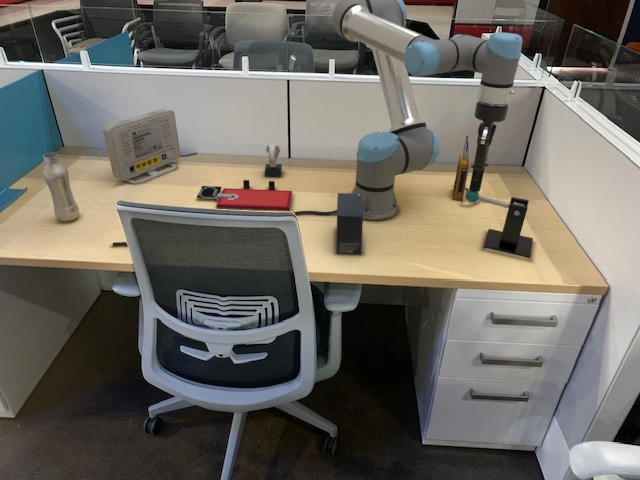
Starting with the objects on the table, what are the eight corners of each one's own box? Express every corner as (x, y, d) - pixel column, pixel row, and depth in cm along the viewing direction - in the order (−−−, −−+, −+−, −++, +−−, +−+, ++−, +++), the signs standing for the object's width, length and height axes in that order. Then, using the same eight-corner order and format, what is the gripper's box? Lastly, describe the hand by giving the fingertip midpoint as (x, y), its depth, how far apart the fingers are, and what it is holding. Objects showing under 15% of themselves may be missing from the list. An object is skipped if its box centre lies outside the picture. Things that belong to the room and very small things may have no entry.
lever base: (482, 250, 131) (493, 205, 124) (487, 232, 139) (498, 190, 132) (529, 260, 127) (543, 215, 120) (531, 242, 135) (544, 199, 128)
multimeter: (486, 208, 151) (500, 149, 141) (454, 205, 153) (465, 146, 142) (482, 189, 164) (494, 132, 153) (452, 186, 165) (462, 130, 155)
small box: (335, 229, 139) (337, 192, 133) (359, 229, 139) (362, 192, 133) (335, 254, 128) (337, 215, 122) (361, 255, 128) (364, 216, 122)
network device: (171, 159, 181) (162, 106, 170) (186, 164, 176) (179, 111, 166) (111, 181, 163) (97, 124, 152) (126, 188, 159) (114, 130, 148)
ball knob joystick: (462, 203, 130) (466, 191, 128) (465, 197, 133) (468, 186, 131) (520, 218, 126) (524, 206, 124) (521, 212, 129) (525, 200, 127)
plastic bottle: (57, 226, 138) (37, 161, 127) (56, 215, 143) (36, 152, 132) (82, 221, 140) (63, 157, 130) (80, 211, 145) (62, 149, 135)
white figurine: (282, 169, 174) (281, 140, 168) (280, 179, 167) (279, 149, 161) (266, 169, 174) (265, 140, 168) (264, 178, 167) (263, 149, 161)
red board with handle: (203, 185, 161) (192, 207, 148) (203, 178, 159) (191, 199, 147) (292, 189, 161) (289, 211, 148) (292, 181, 159) (289, 203, 147)
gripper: (506, 111, 110) (485, 202, 123) (511, 97, 120) (491, 183, 133) (472, 107, 113) (456, 196, 125) (480, 94, 123) (464, 178, 135)
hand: (474, 189), depth 129 cm, fingers closed
